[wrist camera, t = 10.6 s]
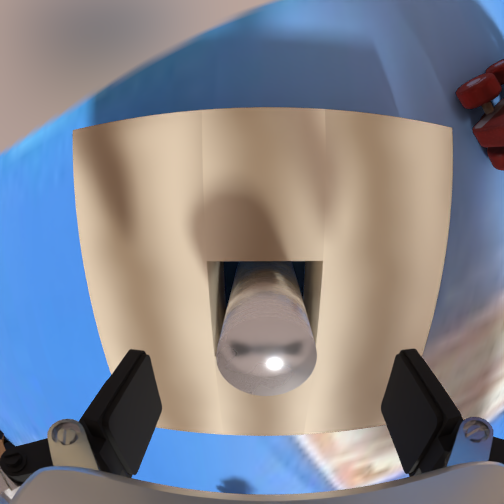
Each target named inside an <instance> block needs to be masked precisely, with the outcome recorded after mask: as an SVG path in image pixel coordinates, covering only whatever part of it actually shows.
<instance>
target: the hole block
mask: <svg viewBox="0 0 504 504" xmlns="http://www.w3.org/2000/svg"><path fill="white" fill-rule="evenodd" d="M73 170H74V188H75V201H76V212H77V221H78V230H79V237H80V244H81V251H82V257H83V263H84V269H85V275H86V280H87V285H88V290H89V295H90V299H91V304H92V308H93V312H94V316H95V320H96V324H97V328H98V332H99V335H100V339H101V343H102V346H103V350H104V353H105V356H106V359H107V363H108V366H109V369H110V372H111V375H112V373H113V372H114V370H115V369H116V368H117V366H118V365H119V363H120V362H121V361H122V359H123V358H124V356H125V355H126V353H127V352H128V351H129V350H130V349H135V350H143V351H145V352H146V355H149V356H150V358H151V363H152V367H153V371H154V375H155V380H156V384H157V388H158V392H159V395H160V399H161V403H162V412H161V415H160V417H159V420H158V422H157V425H156V427H158V428H164V429H171V430H179V431H188V432H198V433H209V434H224V435H251V436H276V435H303V434H318V433H329V432H339V431H348V430H355V429H363V428H369V427H375V426H381V425H386V422H385V420H384V417H383V415H382V412H381V403H382V400H383V397H384V394H385V391H386V387H387V384H388V381H389V377H390V374H391V370H392V367H393V363H394V360H395V356H396V355H397V354H399V352H400V351H401V350H405V349H413V348H414V349H416V350H417V351H418V353H419V354H420V355H421V357H422V354H423V351H424V348H425V344H426V341H427V338H428V334H429V330H430V327H431V323H432V319H433V315H434V311H435V306H436V302H437V298H438V293H439V288H440V283H441V278H442V272H443V267H444V261H445V254H446V247H447V240H448V232H449V222H450V212H451V198H452V178H453V135H452V128H451V127H447V126H442V125H438V124H433V123H428V122H423V121H417V120H412V119H406V118H400V117H393V116H387V115H379V114H372V113H363V112H354V111H343V110H330V109H314V108H286V107H252V108H224V109H208V110H195V111H184V112H175V113H166V114H158V115H151V116H144V117H137V118H131V119H125V120H119V121H114V122H109V123H104V124H99V125H94V126H89V127H85V128H81V129H76V130H73ZM224 261H305V274H304V294H303V302H304V306H305V309H306V313H307V317H308V320H309V324H310V327H311V331H312V335H313V338H314V342H315V346H316V350H317V361H316V365H315V368H314V370H313V372H312V374H311V375H310V376H309V378H308V379H307V380H306V381H305V382H304V383H303V384H301V385H300V386H299V387H297V388H295V389H293V390H291V391H289V392H286V393H284V394H280V395H274V396H258V395H252V394H248V393H245V392H243V391H241V390H238V389H237V388H235V387H233V386H232V385H231V384H229V383H228V382H227V381H226V380H225V379H224V377H223V376H222V375H221V373H220V371H219V369H218V366H217V361H216V352H217V347H218V343H219V339H220V335H221V331H222V327H223V323H224V318H225V314H226V310H227V309H226V296H225V276H224Z"/></svg>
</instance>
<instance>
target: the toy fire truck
mask: <svg viewBox="0 0 504 504" xmlns="http://www.w3.org/2000/svg"><path fill="white" fill-rule="evenodd" d="M501 85H504V59H503V60H500V61H498V62H497V63H495V64H493V65H491V66H490V67H489V68H488V69H487V70H486V73H485V74H482V75H479V76H477V77H475V78H473V79H471V80H469V81H468V82H466V83H465V84H463V85H462V86H461V87H459V88H458V90H457V91H456V95H457V97H458V99H459V100H460V102H461V104H462V105H463V107H464V108H466V109H474V108H477V107H480V106H482V108H483V110H484V114H483V115H482V117H481V119H480V121H479V122H478V123H477V124H476V125H475V126H474V127H473V129H472V131H473V133H474V135H475V137H476V138H477V140H478V142H479V143H480V145H481V146H482V147H488V149H487V154H488V156H489V158H490V161H491V163H492V165H493V166H494V167H495V168H496V169H498V170H504V98H503V99H501V100H500V102H498V103H497V104H496V106H495V107H493V105H492V103H491V100H493V99H494V98H496V97H497V96H498V95H499V94H500V92H501V91H502V88H501Z"/></svg>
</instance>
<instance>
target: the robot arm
mask: <svg viewBox="0 0 504 504" xmlns="http://www.w3.org/2000/svg"><path fill="white" fill-rule="evenodd" d="M161 412H162V403H161V399H160V395H159V392H158V388H157V384H156V380H155V375H154V371H153V367H152V363H151V358H150V356H149V355H146V352H145V351H143V350H135V349H130V350H129V351H128V352H127V353H126V355H125V356H124V358H123V359H122V361H121V362H120V363H119V365H118V366H117V368H116V369H115V370H114V372H113V373H112V375H111V376H110V378H109V379H108V380H107V381H106V382H105V384H104V385H103V387H102V388H101V389H100V391H99V392H98V394H97V395H96V397H95V398H94V400H93V401H92V403H91V404H90V406H89V407H88V409H87V410H86V411H85V413H84V414H83V416H82V417H81V419H80V420H79V422H78V421H76V420H73V419H63V420H60V421H57V422H56V423H54V424H53V425H52V426H51V427H50V428H49V431H48V438H47V439H43V440H39V441H36V442H32V443H28V444H24V445H20V446H16V447H12V448H9V449H7V450H6V451H4V453H3V454H2V455H1V458H0V504H504V440H503V439H499V438H496V437H493V429H492V426H491V425H490V424H489V422H487V421H486V420H484V419H482V418H479V417H470V418H467V419H465V420H463V419H462V417H461V414H460V412H459V410H458V409H457V407H456V406H455V404H454V403H453V401H452V400H451V398H450V397H449V395H448V394H447V392H446V391H445V389H444V388H443V387H442V385H441V384H440V382H439V381H438V379H437V378H436V376H435V375H434V374H433V372H432V371H431V369H430V368H429V367H428V365H427V364H426V362H425V361H424V360H423V358H422V357H421V355H420V354H419V353H418V351H417V350H416V349H414V348H413V349H405V350H401V351H400V352H399V354H397V355H396V356H395V360H394V363H393V367H392V370H391V374H390V377H389V381H388V384H387V387H386V391H385V394H384V397H383V400H382V403H381V412H382V415H383V417H384V420H385V422H386V425H387V427H388V430H389V432H390V435H391V438H392V440H393V443H394V445H395V448H396V451H397V453H398V456H399V459H400V461H401V464H402V467H403V470H404V472H405V473H406V474H408V473H409V476H410V477H407V478H403V479H399V480H394V481H390V482H385V483H380V484H375V485H370V486H364V487H358V488H352V489H345V490H337V491H328V492H318V493H305V494H281V495H256V494H233V493H219V492H209V491H200V490H192V489H185V488H178V487H172V486H167V485H161V484H156V483H151V482H146V481H141V480H137V479H133V478H131V477H132V474H133V475H136V474H137V472H138V470H139V467H140V465H141V462H142V459H143V457H144V454H145V452H146V449H147V447H148V444H149V442H150V439H151V437H152V434H153V432H154V430H155V427H156V425H157V422H158V420H159V417H160V415H161Z"/></svg>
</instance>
